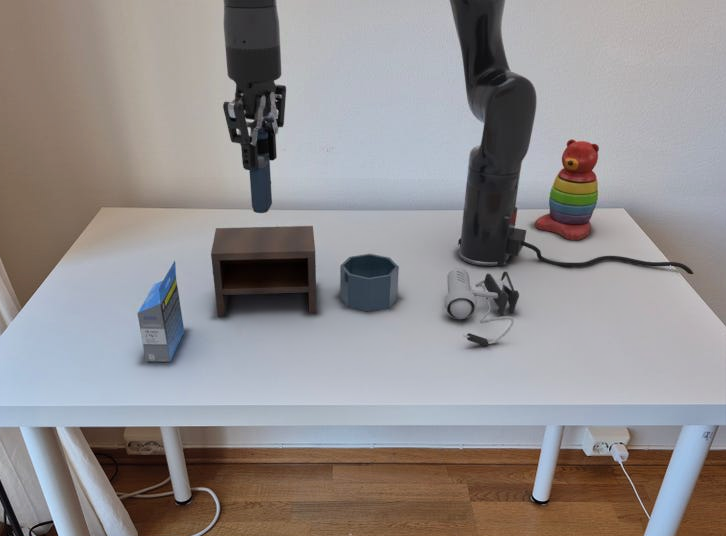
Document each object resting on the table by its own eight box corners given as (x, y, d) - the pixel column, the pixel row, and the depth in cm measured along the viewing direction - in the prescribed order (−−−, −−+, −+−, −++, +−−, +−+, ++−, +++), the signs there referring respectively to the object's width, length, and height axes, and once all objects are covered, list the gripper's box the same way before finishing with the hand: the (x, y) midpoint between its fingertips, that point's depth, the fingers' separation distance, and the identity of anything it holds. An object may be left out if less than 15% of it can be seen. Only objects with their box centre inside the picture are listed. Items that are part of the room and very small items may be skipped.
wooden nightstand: (314, 285, 123) (312, 225, 117) (316, 313, 115) (315, 250, 109) (222, 288, 122) (215, 228, 116) (217, 317, 114) (210, 253, 107)
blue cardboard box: (160, 331, 110) (149, 258, 103) (185, 331, 110) (175, 259, 103) (144, 362, 102) (131, 287, 96) (171, 363, 102) (159, 287, 96)
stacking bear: (530, 226, 146) (544, 140, 137) (557, 214, 152) (573, 131, 142) (575, 242, 140) (593, 153, 130) (602, 229, 146) (621, 143, 136)
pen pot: (402, 292, 122) (404, 260, 118) (383, 315, 115) (384, 282, 111) (355, 281, 125) (355, 250, 121) (333, 304, 118) (333, 271, 114)
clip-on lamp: (519, 363, 108) (507, 288, 121) (531, 334, 104) (517, 258, 116) (444, 355, 108) (439, 280, 120) (452, 326, 103) (446, 251, 116)
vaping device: (274, 201, 111) (269, 124, 105) (267, 214, 107) (262, 134, 100) (258, 201, 112) (252, 124, 105) (250, 213, 107) (244, 133, 101)
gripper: (249, 52, 90) (257, 182, 99) (301, 36, 100) (304, 154, 110) (199, 47, 92) (212, 175, 101) (255, 32, 103) (262, 148, 112)
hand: (260, 163), depth 106 cm, fingers closed on vaping device, 5 cm apart
